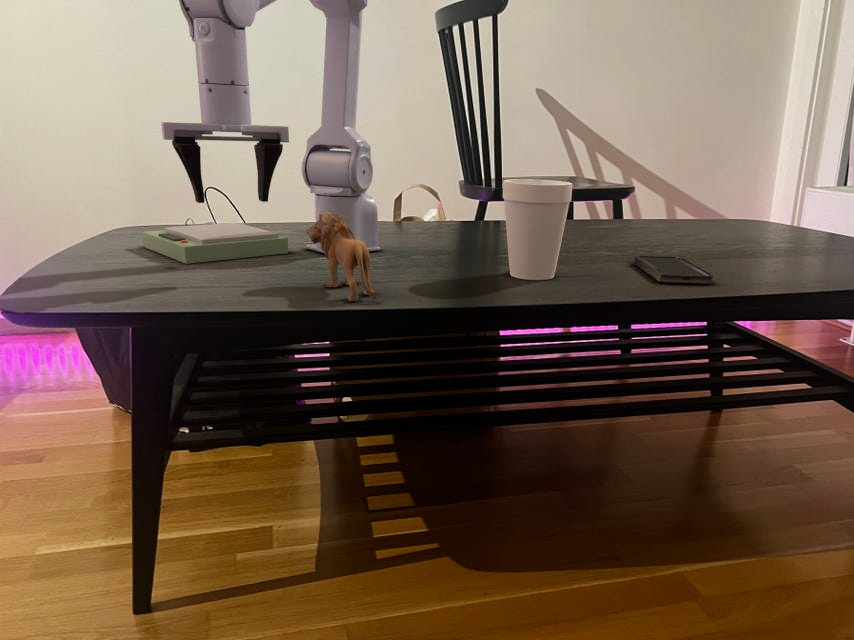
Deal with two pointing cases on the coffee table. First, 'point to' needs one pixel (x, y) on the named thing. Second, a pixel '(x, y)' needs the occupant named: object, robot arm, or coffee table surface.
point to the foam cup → (535, 225)
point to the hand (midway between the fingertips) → (232, 201)
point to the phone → (673, 270)
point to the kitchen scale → (214, 242)
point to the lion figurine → (342, 252)
